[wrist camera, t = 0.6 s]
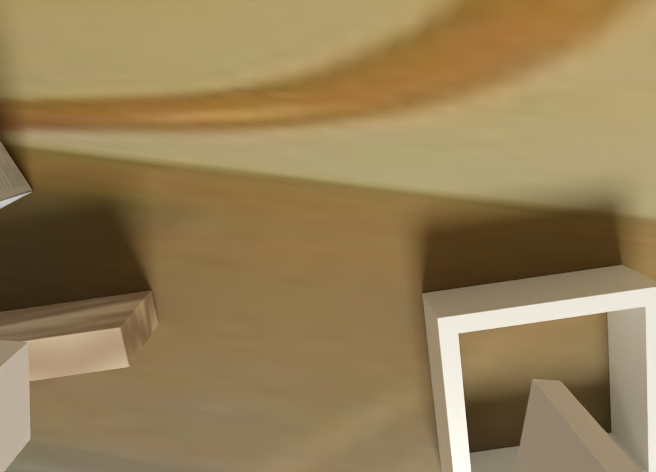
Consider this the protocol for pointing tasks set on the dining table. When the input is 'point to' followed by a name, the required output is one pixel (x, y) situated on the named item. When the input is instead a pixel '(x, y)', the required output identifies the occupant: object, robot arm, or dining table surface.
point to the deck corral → (541, 305)
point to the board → (82, 333)
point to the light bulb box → (11, 180)
